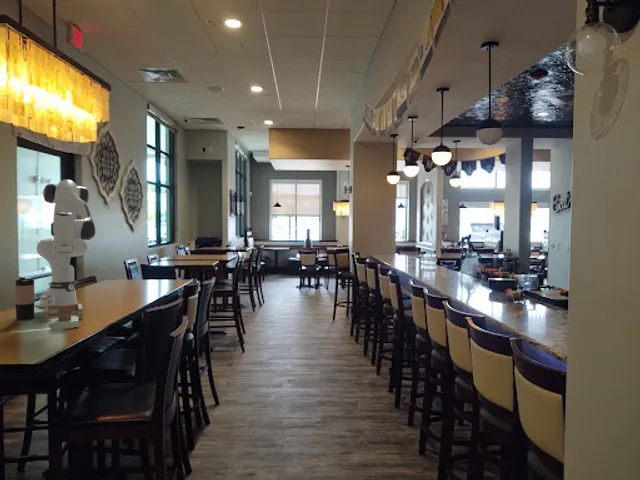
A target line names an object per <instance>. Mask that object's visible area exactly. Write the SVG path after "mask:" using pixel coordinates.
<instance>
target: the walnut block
mask: <svg viewBox="0 0 640 480" xmlns="http://www.w3.org/2000/svg"><path fill="white" fill-rule="evenodd" d="M58 319H59V321H69V320H71V304H58Z"/></svg>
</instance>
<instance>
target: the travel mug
mask: <svg viewBox="0 0 640 480" xmlns="http://www.w3.org/2000/svg"><path fill="white" fill-rule="evenodd" d="M35 301H36V300H35V279H33V278H23V279H22V278H21V279H16V280H15V318H16V321H30V320H34V319H35V304H36V303H35Z"/></svg>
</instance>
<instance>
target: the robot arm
mask: <svg viewBox="0 0 640 480" xmlns="http://www.w3.org/2000/svg"><path fill="white" fill-rule="evenodd" d="M90 196H91V193H90V192H89V189H88V188H87V187H84V186H82V185H81V186H79V185H77V183H76V182H74V181H73V180H71V179H62V180H61V181H58V183H57V184H54V183H48V184H46V185H45V186H44V188H43V190H42V198H43V199H44V201H45V202H46V203H49V204H55V205H54V210H53V222H52V223H51V224H50V235H51V236H52V237H53V238H52V237H51V238H45V239H41V240H40V241H39V242H38V243H37V246H36V251H37V253H38V255H39V256H40V257H41V258H43V259H45V261H46V262H47V263H48V264H49V266H50V269H51V282H49V283H48V286H49V287H48V289H46V291H45V292H44V293H42V294H41V295H40V299H39V302H38V303H35V305H34V307H39V308H45V306H51V305H58V304H79V303H78V299H77V292H76V289H75V287H76V281H75V268H74V266H73V265H72V264H71V259H72V258H74V257H76V258H77V257H81V256H84V255H85V254H86V253H87V251H88V243H87V242H86V241H90V240H92V238H94V237H95V236H96V228H97V227H96V225H95V222H94V221H93V218H92V215H91V212H90V209H89V206H88V202H89V201H90ZM77 215H78V216H80V217H81V219H77Z"/></svg>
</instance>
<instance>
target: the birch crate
mask: <svg viewBox="0 0 640 480" xmlns="http://www.w3.org/2000/svg"><path fill="white" fill-rule="evenodd" d="M43 308H44V307H43ZM71 317H78V320H82V319H83V305H82V303H80V302H79V303H77V304H71ZM54 318H58V305H51V306H45V308H44V309H43V322H44V323H48V322H49V323H51V319H54Z"/></svg>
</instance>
